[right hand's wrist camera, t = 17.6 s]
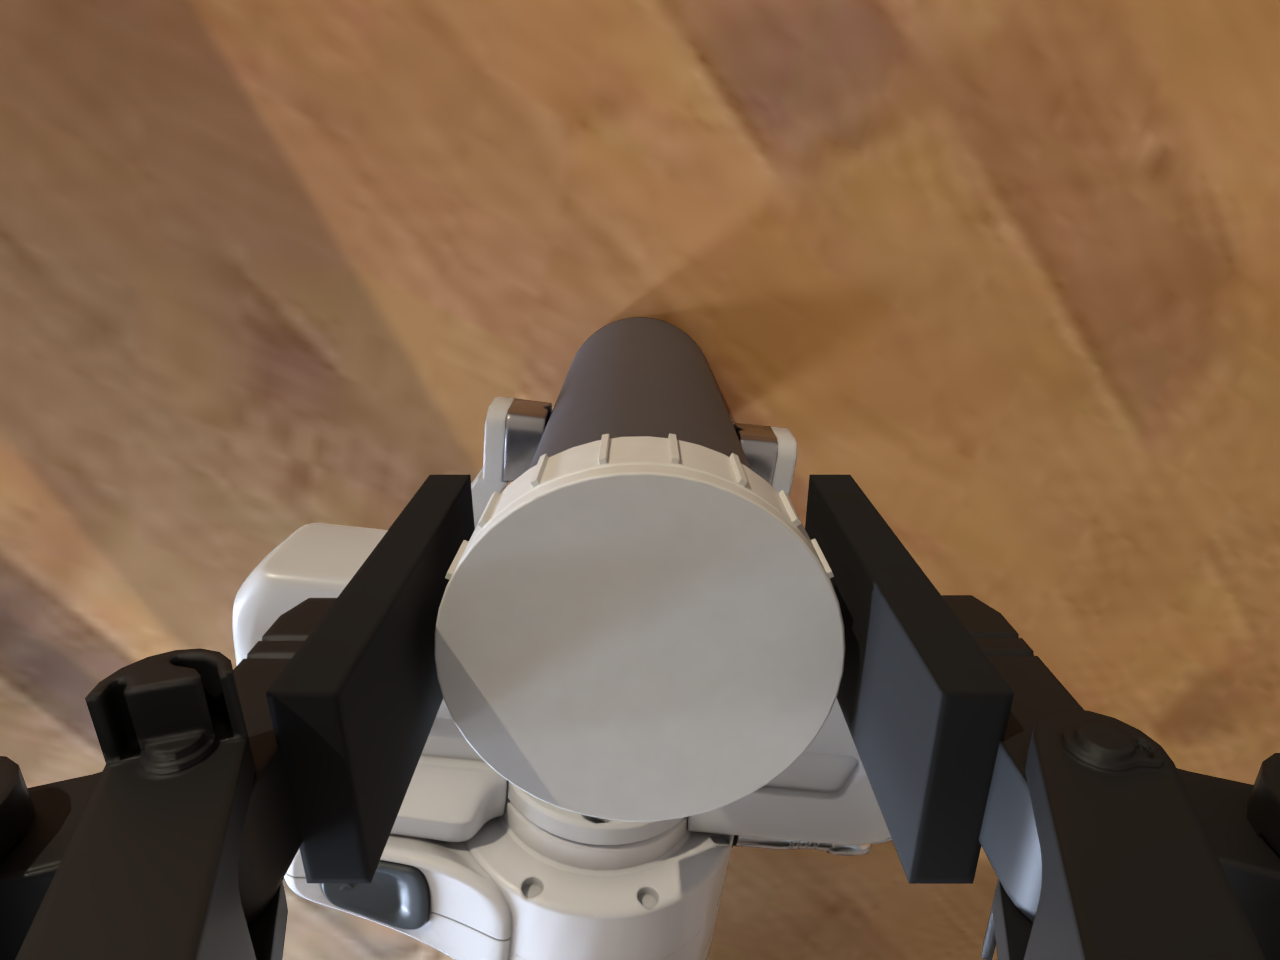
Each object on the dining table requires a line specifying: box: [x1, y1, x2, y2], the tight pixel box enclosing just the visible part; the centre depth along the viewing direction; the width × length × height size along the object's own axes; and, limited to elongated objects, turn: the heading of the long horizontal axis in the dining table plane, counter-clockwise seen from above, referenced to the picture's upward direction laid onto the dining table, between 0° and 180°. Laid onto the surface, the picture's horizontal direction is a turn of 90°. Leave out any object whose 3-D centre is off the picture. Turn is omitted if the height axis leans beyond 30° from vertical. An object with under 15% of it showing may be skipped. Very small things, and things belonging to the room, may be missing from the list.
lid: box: [434, 433, 845, 821], centre depth 11 cm, size 6×6×2 cm
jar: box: [529, 317, 751, 469], centre depth 18 cm, size 5×5×15 cm
